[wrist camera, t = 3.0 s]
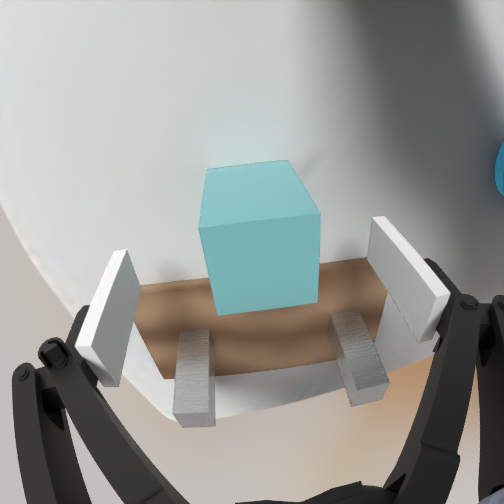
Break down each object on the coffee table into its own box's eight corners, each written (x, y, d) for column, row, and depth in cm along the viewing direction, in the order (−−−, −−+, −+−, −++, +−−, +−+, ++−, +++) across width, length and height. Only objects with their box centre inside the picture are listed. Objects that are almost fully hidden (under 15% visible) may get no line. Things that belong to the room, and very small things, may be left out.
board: (124, 287, 24) (121, 295, 23) (389, 254, 24) (394, 261, 23) (164, 371, 31) (164, 379, 30) (368, 345, 31) (371, 352, 30)
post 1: (179, 331, 26) (172, 413, 19) (209, 328, 26) (208, 412, 19) (186, 350, 27) (182, 427, 21) (214, 347, 27) (215, 426, 21)
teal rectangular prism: (206, 169, 19) (198, 227, 13) (288, 160, 19) (320, 213, 13) (218, 238, 22) (218, 315, 16) (291, 229, 22) (317, 302, 16)
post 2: (329, 313, 26) (356, 390, 19) (357, 308, 26) (389, 382, 19) (327, 332, 28) (351, 406, 21) (353, 327, 28) (381, 398, 21)
